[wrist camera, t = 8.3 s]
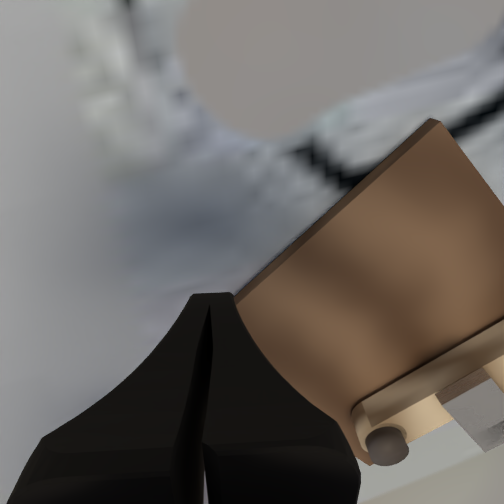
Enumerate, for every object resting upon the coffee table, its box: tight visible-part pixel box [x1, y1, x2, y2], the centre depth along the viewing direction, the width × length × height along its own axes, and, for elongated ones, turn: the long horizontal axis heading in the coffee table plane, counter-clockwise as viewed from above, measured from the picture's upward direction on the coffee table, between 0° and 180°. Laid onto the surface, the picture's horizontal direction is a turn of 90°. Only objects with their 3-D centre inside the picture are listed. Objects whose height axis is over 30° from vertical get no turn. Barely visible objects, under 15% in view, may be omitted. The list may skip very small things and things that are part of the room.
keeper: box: [435, 367, 504, 452], centre depth 23 cm, size 3×6×4 cm, turn 41°
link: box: [351, 320, 504, 466], centre depth 23 cm, size 14×3×3 cm, turn 130°
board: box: [234, 118, 504, 466], centre depth 24 cm, size 18×18×1 cm
